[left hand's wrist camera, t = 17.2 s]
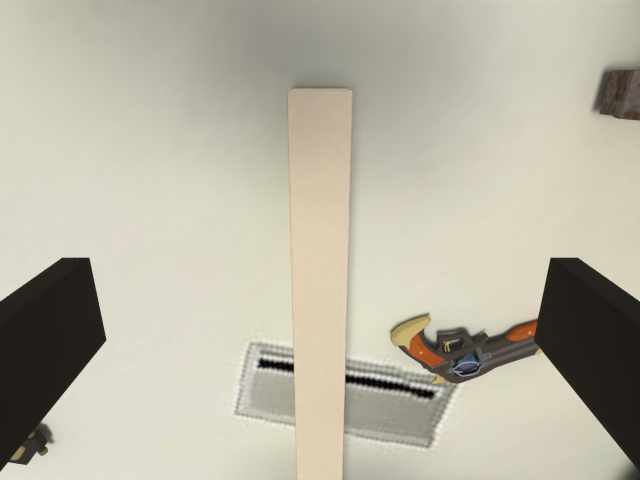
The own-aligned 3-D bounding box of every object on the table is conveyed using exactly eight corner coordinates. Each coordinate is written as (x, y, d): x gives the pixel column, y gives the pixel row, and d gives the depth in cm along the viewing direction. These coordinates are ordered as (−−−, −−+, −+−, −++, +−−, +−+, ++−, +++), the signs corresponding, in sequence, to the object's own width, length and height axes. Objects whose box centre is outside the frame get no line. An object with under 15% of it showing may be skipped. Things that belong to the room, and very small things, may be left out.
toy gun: (389, 336, 50) (416, 406, 52) (546, 279, 49) (567, 353, 51) (385, 326, 53) (411, 393, 55) (534, 272, 52) (554, 343, 54)
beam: (292, 88, 43) (287, 90, 36) (347, 88, 43) (352, 90, 36) (300, 488, 62) (298, 540, 56) (338, 488, 62) (340, 540, 56)
